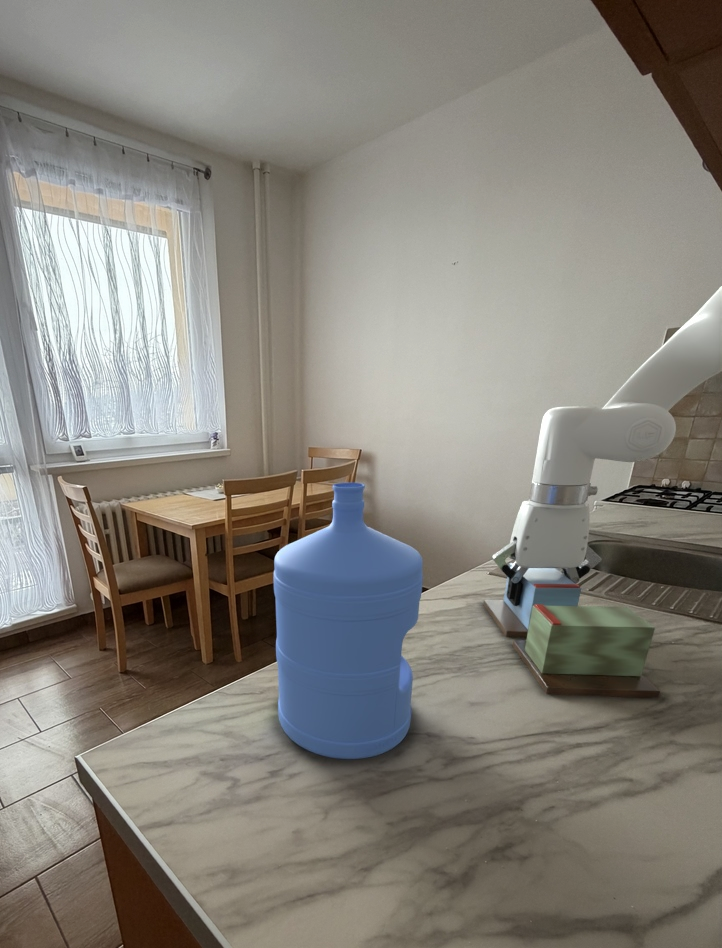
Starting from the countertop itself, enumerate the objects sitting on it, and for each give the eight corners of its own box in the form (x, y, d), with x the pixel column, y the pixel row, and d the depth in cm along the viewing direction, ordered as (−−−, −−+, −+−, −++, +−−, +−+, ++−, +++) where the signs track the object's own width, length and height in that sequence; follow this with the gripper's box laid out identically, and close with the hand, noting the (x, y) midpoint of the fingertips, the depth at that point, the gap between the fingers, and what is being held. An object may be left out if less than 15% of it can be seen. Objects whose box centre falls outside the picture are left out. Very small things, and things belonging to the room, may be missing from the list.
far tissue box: (503, 600, 86) (509, 561, 83) (542, 601, 85) (549, 562, 83) (527, 629, 75) (535, 586, 72) (572, 630, 74) (581, 586, 72)
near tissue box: (614, 652, 68) (626, 604, 65) (641, 676, 62) (656, 625, 59) (524, 650, 69) (532, 603, 67) (541, 673, 63) (552, 623, 61)
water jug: (313, 781, 49) (312, 507, 38) (260, 700, 63) (248, 481, 52) (438, 740, 54) (468, 488, 44) (364, 674, 68) (373, 470, 57)
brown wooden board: (604, 651, 71) (606, 642, 71) (657, 701, 59) (660, 691, 59) (511, 648, 73) (513, 639, 72) (545, 697, 61) (547, 687, 61)
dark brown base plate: (558, 608, 86) (560, 600, 85) (594, 641, 74) (596, 632, 74) (482, 607, 88) (483, 599, 87) (505, 639, 76) (506, 631, 75)
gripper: (607, 489, 75) (582, 595, 82) (490, 490, 77) (476, 594, 84) (634, 498, 68) (605, 613, 75) (505, 499, 70) (488, 611, 77)
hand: (537, 602), depth 80 cm, fingers open, 6 cm apart
